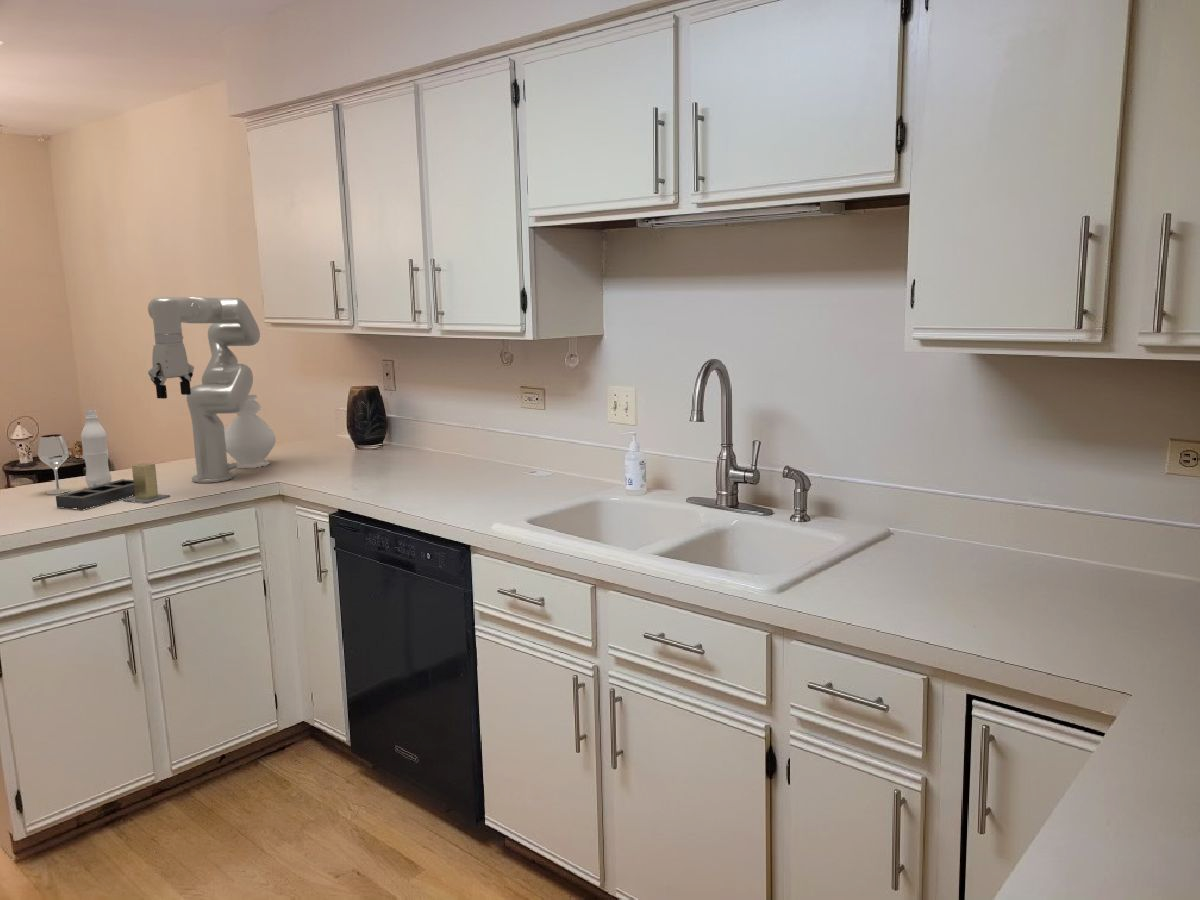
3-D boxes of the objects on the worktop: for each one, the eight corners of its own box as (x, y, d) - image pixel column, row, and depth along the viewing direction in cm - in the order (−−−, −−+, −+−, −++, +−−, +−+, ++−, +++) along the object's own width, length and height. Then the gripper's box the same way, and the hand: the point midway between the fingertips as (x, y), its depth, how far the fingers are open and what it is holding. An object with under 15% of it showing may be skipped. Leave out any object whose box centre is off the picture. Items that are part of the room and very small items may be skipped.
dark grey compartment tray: (123, 490, 281) (122, 479, 280) (148, 491, 278) (147, 481, 277) (57, 507, 258) (55, 496, 258) (84, 510, 255) (82, 498, 255)
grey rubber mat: (146, 494, 274) (146, 493, 274) (170, 496, 271) (169, 495, 271) (122, 501, 265) (122, 499, 265) (147, 503, 263) (147, 501, 263)
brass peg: (146, 495, 271) (143, 463, 269) (158, 496, 270) (155, 463, 268) (135, 498, 267) (131, 466, 265) (147, 499, 266) (143, 466, 264)
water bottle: (101, 490, 281) (92, 412, 276) (81, 489, 282) (72, 411, 278) (117, 485, 288) (109, 409, 283) (98, 484, 289) (89, 408, 285)
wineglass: (46, 490, 281) (39, 434, 278) (75, 488, 284) (69, 433, 280) (40, 496, 273) (33, 438, 270) (70, 494, 276) (63, 436, 273)
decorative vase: (255, 471, 308) (249, 399, 304) (213, 468, 314) (206, 398, 309) (287, 461, 325) (282, 394, 321) (247, 459, 331) (241, 392, 326)
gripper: (180, 338, 276) (185, 392, 279) (136, 341, 260) (142, 399, 263) (199, 338, 274) (204, 393, 277) (156, 341, 258) (162, 400, 261)
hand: (174, 396), depth 270 cm, fingers open, 9 cm apart
